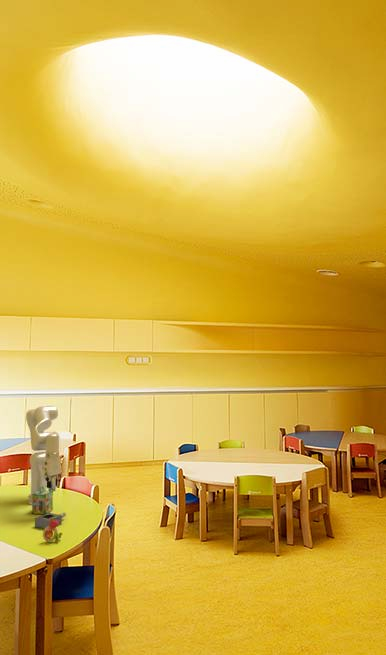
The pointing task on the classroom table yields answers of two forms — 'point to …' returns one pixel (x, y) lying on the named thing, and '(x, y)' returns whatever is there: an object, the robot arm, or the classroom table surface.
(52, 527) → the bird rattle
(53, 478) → the key peg
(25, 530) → the classroom table surface
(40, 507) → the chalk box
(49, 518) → the chuck block
